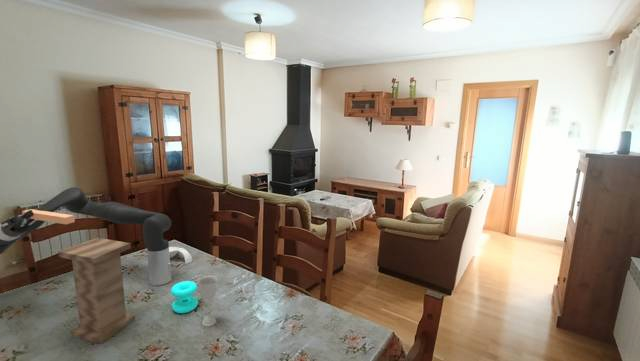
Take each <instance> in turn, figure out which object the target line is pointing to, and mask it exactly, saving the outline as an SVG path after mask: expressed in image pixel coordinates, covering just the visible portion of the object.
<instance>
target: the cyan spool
mask: <svg viewBox="0 0 640 361" xmlns="http://www.w3.org/2000/svg"><path fill="white" fill-rule="evenodd" d="M197 290H198V285H197V283H196V282H194V281H192V280H184V281H180V282H178V283H175V284H174V285H173V286H172V287H171V290H170V294H171V295H172V296H173V297H174V298H177V299H175V300H174V301H173V303H172V305H171V309H172V311H173V312H174V313H177V314H186V313H189V312H192V311H194V310H195V309H196V308H197V306H198V304H199V300H198V299H197V297H195V296H193V294H195V293H196V292H197Z"/></svg>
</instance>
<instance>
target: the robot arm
mask: <svg viewBox="0 0 640 361" xmlns="http://www.w3.org/2000/svg"><path fill="white" fill-rule="evenodd" d="M61 207H64V208H65V209H66V210H67V211H69V212H70V213H75V214H78V215H79V214H80V215H86V216H90V217H95V218H97V219H98V218H99V219H102V220H105V221H108V222H112V223H115V224H121V225H141V226H142V232H143V234H142V235H143V240H144V241H143V242H144V245H145V246H146V252H147V264H148V280H149V284H150V286H154V287H156V286H164V285H165V284H168V283H169V282H172V281H173V280H172V265H171V264H172V263H171V261H170V260H171V258H170V257H169V247H170V244H169V240H168V239H165V238H164V234H163V233H165V232H166V231H168V230H169V229H170V228H171V226H172V220H171V218H170V217H169V216H168V215H166V214H164V213H160V212H157V211H155V212H154V211H150V210H149V211H148V210H144V209H141V208H137V207H134V206H130V205H126V204H124V203H120V202H116V201H107V202H103V203H99V202H96V201H93V200H90V199H88V197H87V196H86V194H85V192H84V191H83V190H82V189H81V187H76V186H75V187H70V188H66V189H65V190H63V191H61V192H60V193H58V194H56V195H55V196H53V197H52V198H51V199H49V200H48V201H47V202H45V203H43V205H41V206H40V207H38V208H36V210H40V211H47V212H54V213H55V211H57V210H58V209H60V208H61ZM28 210H29V211H27V212H26V213H25V214H23V213H22V214H18V215H12V216H10V217H9V218H8V219H6V220H4V221H2V222H0V255H1V254H4V253H5V251H7V250H8V249H9V248H10V247H12V245H13V244H15V243H16V242H18V241H19V240H20V239H22V238H23V237H25V236H27V235H28V234H30V233H32V232H34V231H36V230H38V229H39V228H40V227H41V226H42V225H43V224H44V223H45V222H46V221H42V220H35V219H29V218H30V217H32V216H33V215H34V214H33V211H32V210H30V209H28Z"/></svg>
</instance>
